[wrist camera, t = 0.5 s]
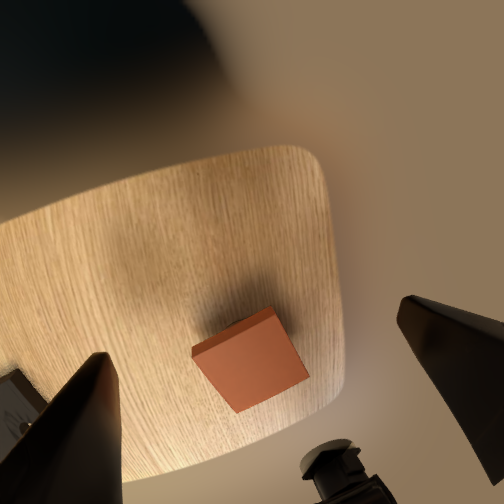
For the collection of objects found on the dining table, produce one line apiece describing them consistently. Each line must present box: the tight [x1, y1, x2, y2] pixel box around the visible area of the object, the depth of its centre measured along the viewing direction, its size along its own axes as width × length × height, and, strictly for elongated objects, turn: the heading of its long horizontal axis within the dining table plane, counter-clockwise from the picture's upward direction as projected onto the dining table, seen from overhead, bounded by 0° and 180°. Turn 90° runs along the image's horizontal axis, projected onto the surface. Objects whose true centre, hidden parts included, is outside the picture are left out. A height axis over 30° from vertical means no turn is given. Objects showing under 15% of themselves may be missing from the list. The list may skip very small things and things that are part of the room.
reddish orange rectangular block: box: [192, 306, 310, 413], centre depth 20 cm, size 6×6×4 cm
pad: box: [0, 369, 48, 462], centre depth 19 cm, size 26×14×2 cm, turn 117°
